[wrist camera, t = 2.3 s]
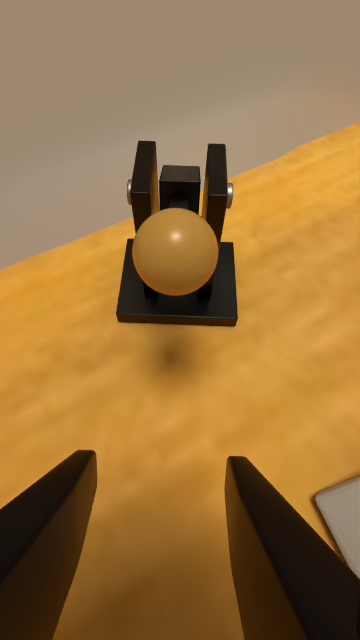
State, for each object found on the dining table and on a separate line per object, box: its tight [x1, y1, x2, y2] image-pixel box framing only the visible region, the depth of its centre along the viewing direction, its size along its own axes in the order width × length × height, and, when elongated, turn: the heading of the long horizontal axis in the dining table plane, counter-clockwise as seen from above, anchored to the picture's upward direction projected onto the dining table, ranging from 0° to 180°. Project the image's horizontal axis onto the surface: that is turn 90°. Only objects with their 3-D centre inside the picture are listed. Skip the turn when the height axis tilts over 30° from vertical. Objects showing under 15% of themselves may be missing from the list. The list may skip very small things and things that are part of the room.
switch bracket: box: [116, 141, 238, 326], centre depth 22 cm, size 8×9×11 cm
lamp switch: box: [132, 165, 218, 296], centre depth 16 cm, size 10×4×4 cm, turn 178°
